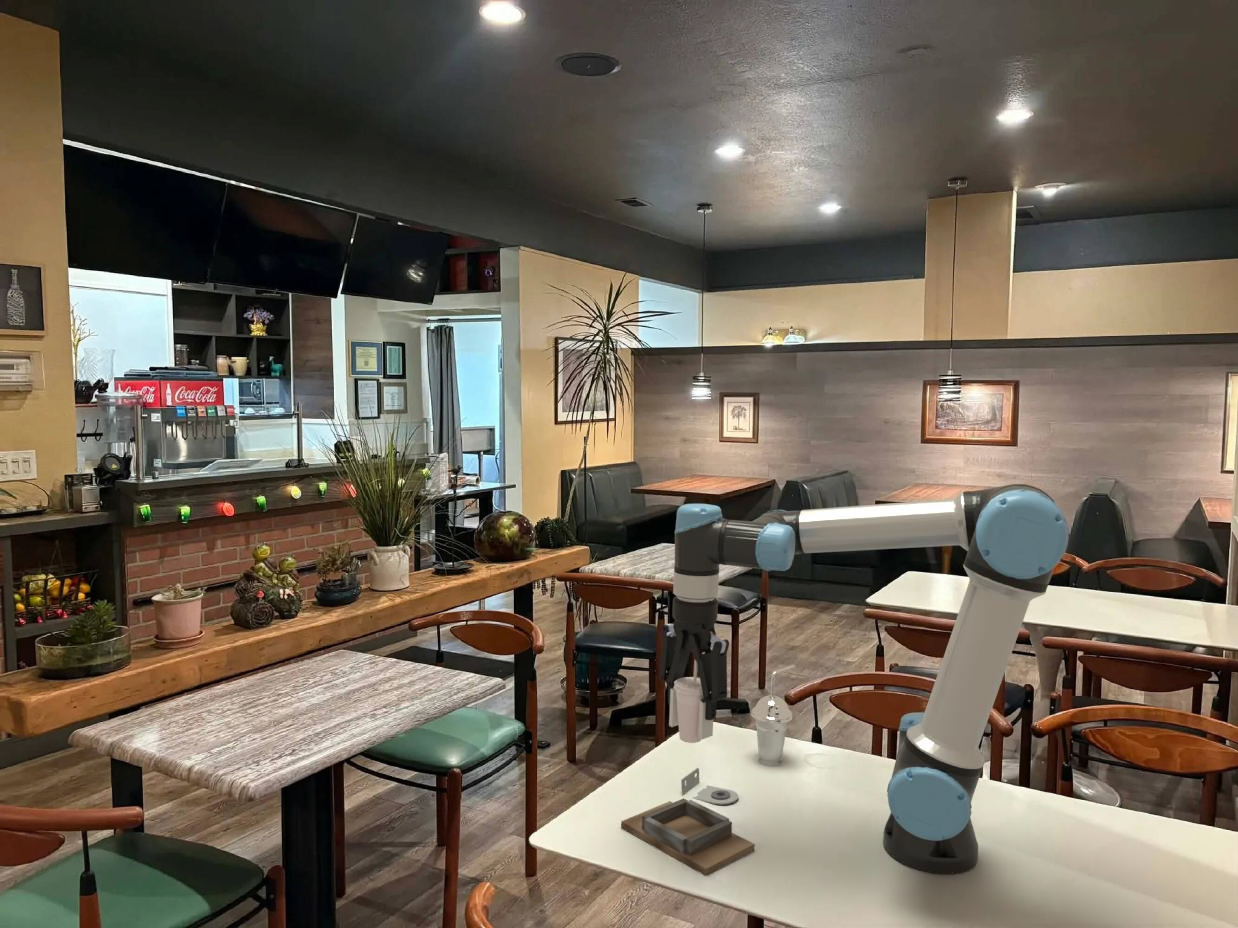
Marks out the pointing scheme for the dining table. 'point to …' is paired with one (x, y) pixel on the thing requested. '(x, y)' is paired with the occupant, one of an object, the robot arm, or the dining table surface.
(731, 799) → the grey arched plates
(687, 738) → the smoothie
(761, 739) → the domed lid cup
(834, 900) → the dining table surface
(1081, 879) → the dining table surface
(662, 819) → the keeper board
